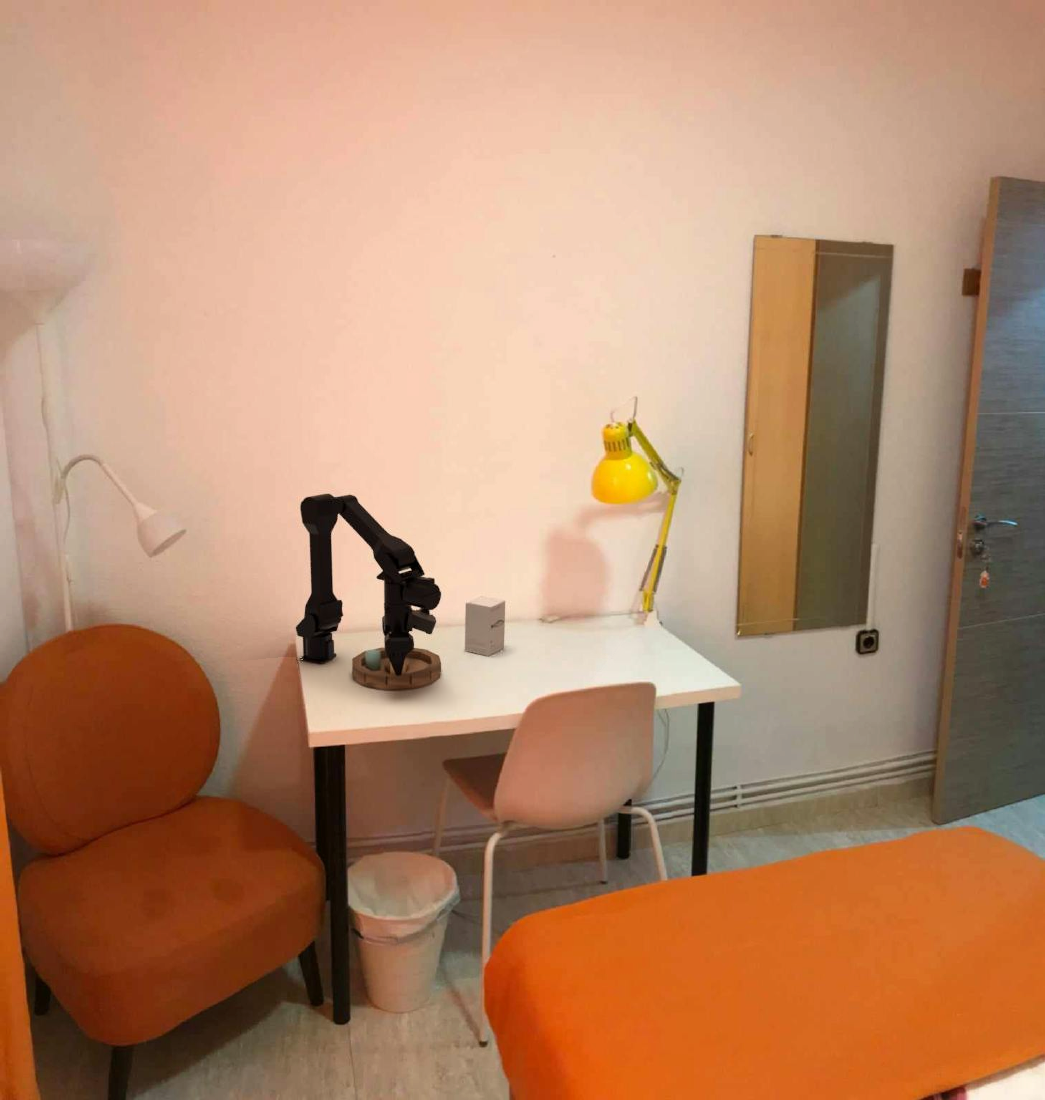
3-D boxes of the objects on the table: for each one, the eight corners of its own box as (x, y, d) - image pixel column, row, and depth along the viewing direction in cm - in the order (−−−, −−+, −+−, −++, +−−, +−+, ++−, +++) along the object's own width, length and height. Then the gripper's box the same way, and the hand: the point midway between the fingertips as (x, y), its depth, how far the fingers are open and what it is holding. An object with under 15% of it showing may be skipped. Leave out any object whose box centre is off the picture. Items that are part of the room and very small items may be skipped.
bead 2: (400, 681, 221) (400, 664, 220) (387, 678, 222) (387, 661, 221) (408, 676, 224) (408, 659, 223) (395, 674, 225) (395, 657, 224)
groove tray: (336, 682, 223) (335, 668, 222) (378, 654, 241) (378, 642, 240) (416, 695, 216) (416, 682, 215) (454, 666, 234) (454, 653, 234)
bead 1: (379, 671, 227) (379, 654, 226) (364, 671, 227) (364, 654, 226) (381, 666, 230) (381, 649, 229) (366, 665, 230) (366, 649, 229)
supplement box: (489, 656, 242) (489, 607, 239) (463, 651, 245) (464, 601, 242) (505, 648, 248) (506, 600, 245) (480, 643, 251) (481, 595, 248)
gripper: (437, 612, 211) (437, 681, 215) (430, 588, 229) (430, 653, 233) (384, 614, 209) (385, 683, 213) (381, 589, 227) (382, 654, 231)
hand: (397, 668), depth 222 cm, fingers open, 9 cm apart
